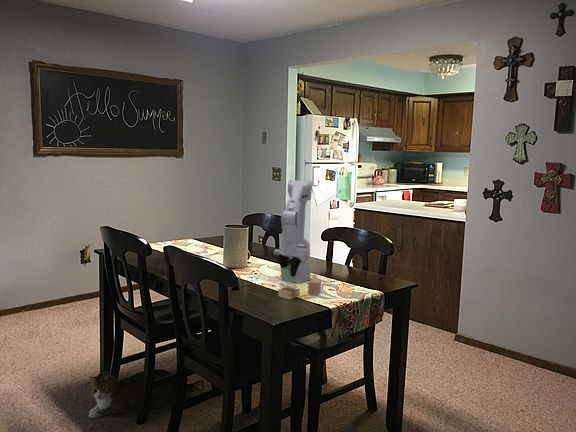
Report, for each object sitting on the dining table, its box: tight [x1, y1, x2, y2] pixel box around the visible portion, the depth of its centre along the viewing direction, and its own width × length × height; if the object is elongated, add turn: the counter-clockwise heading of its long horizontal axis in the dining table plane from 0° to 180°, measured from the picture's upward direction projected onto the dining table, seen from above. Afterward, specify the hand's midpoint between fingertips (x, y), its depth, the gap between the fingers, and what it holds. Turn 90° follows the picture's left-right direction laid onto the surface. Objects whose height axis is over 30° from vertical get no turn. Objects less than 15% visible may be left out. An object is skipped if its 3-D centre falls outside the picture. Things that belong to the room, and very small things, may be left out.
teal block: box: [280, 266, 295, 284], centre depth 200 cm, size 4×4×5 cm
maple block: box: [277, 285, 301, 300], centre depth 202 cm, size 6×6×3 cm
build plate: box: [227, 276, 244, 292], centre depth 212 cm, size 12×7×5 cm, turn 0°
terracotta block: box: [307, 279, 322, 296], centre depth 206 cm, size 4×4×5 cm
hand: (288, 275), depth 201 cm, fingers closed on teal block, 4 cm apart
